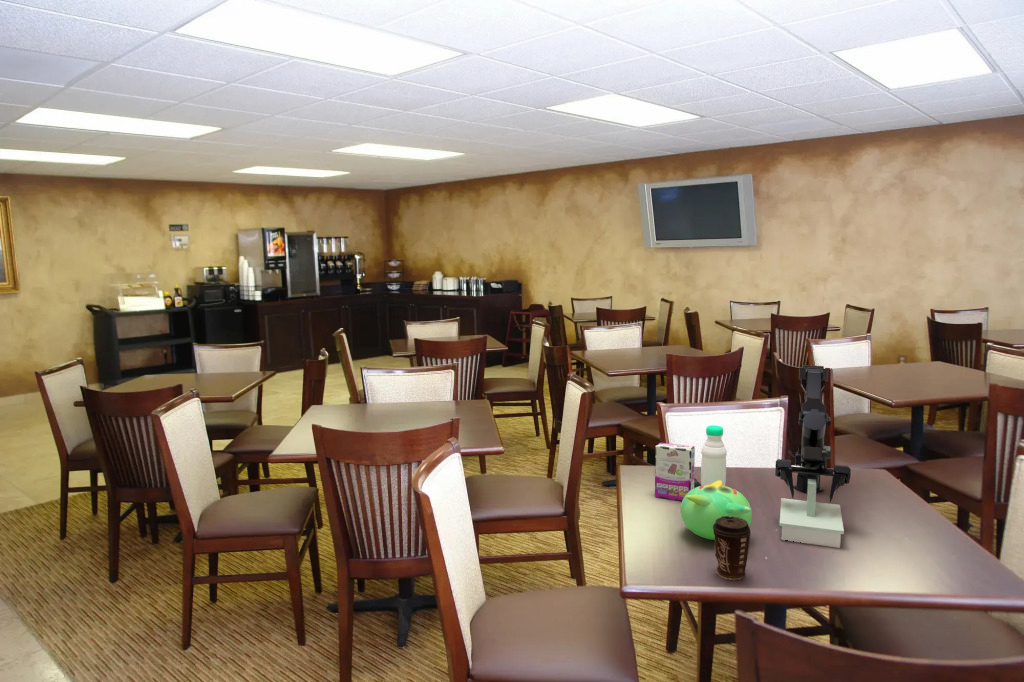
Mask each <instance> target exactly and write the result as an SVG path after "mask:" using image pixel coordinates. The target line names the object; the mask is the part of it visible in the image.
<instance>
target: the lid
mask: <svg viewBox="0 0 1024 682" xmlns="http://www.w3.org/2000/svg"><path fill="white" fill-rule="evenodd" d="M806 494H807V495H806V500H803V499H802V500H799V499H794V498H790V499H789V498H784V497H783V498H782V497H781V498H780V511H779V512H780V514H779V527H782V526H784V527H791V528H799V529H807V530H815V531H823V532H830V533H838V534H841V535H844V534H845V529H844V523H843V516H842V511H841V505H840V504H835V503H827V502H818V501H816V498H817V492H816V479H808V491H807V493H806Z"/></svg>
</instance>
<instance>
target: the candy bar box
mask: <svg viewBox="0 0 1024 682" xmlns="http://www.w3.org/2000/svg"><path fill="white" fill-rule="evenodd" d="M695 447H696V446H695V445H687V444H675V443H668V442H659V443H658V444H657V445H655V447H654V451H655V452H654V453H655V454H654V455H655V458H654V460H655V462H654V463H655V464H654V466H655V468H654V497H655V498H658V499H666V500H671V501H678V502H682V501H683V499H684V497H685V495H686V494H687V493H688V492H689V491H691V490H692V489H694V478H695V463H696V462H695V459H696V458H695V457H696V455H695V451H696V448H695Z"/></svg>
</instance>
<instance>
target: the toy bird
mask: <svg viewBox="0 0 1024 682" xmlns="http://www.w3.org/2000/svg"><path fill="white" fill-rule="evenodd" d="M680 515H681V520H682V521H683V523H684V525H685V526H686V527H687V529H688V530H690V531H691V532H692V533H693V534H695V535H697V536H699V538H700V537H701V538H703V539H706V540H710V541H711V540H712V541H715V536H714V531H713V525H714V524H715V522H716V520H717V519H718V518H721V517H722V516H729V517H732V516H733V517H739V518H742V519H744V520H745V521H747V523H748V526H749V527H750V524H751V522H752V519H753V518H752V515H753V514H752V508H751V505H750V503H749V501H748V499H747V498H746V497H745V496H744V494H742V493H741V492H740V491H738V490H736V489H734V488H732V487H729V486H728V485H727V486H726V485H725V486H723V485H722V481H721V480H718V481H715V482H713V483H712V484H709V485H702V486H699V487H696V488H694V489H692V490H691V491H689V492H688V493H687V494H686V495H685V497H684V499H683V501H681V505H680Z"/></svg>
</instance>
